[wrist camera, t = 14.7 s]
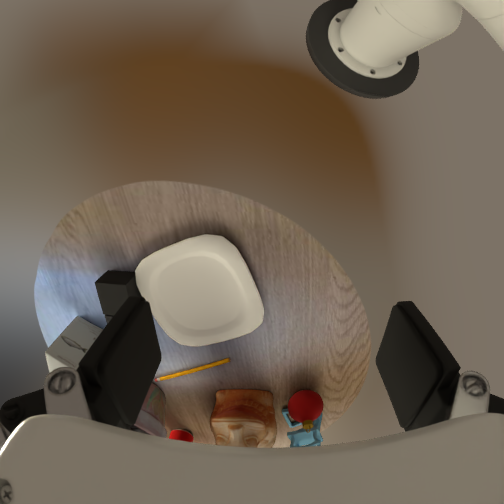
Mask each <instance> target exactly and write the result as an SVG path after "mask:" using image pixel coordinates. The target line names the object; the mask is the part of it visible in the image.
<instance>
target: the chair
mask: <svg viewBox="0 0 504 504" xmlns="http://www.w3.org/2000/svg"><path fill="white" fill-rule="evenodd" d="M286 413H289V412H288V409H282V414H283V416H284V418H285V419H286V421H287V423H288V425H289V426H290V427H291V428H292V427H296V426H299V425H301V424H302V423H300V422H295V423H291V421H290V419H289V417H288V415H287V414H286ZM321 420H322V413H321V415H320V416H319V417H318V418H317V419H316V420H314V421H313V427H312V428H311V430H310V432H309V433H307V432H306V429H303V428H302V429H299V430H297V431H292V432H287V436H288V438H289V439H290V440H291V445H290V447H310V446H316V445H317V446H321V445H320V443H321V442H322V441H323V438H322V436H321V434H320V425H321ZM307 431H309V429H308V430H307ZM307 444H308V445H307ZM302 445H306V446H302Z"/></svg>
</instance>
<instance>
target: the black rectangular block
mask: <svg viewBox="0 0 504 504" xmlns="http://www.w3.org/2000/svg"><path fill="white" fill-rule="evenodd" d="M95 285H96V289H97V293H98V297H99V300H100V304H101V307H102V311H103V314H105V315H112V316H114V315H115V314H116V312H117V311H118V310H119V308H120V307H121V306H122V305H123V303H124V302H125V301H126V300H127V298H128V297H129V296H137V297H142V295H141V293H140V291H139V289H138V287H137V284H136V275H135V272H126V271H110V270H108V271H107V272H105V273H104V274H103V275H102V276H101V277H100V278H99V279H98V280H97V281H96V282H95Z"/></svg>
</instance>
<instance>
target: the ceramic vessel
mask: <svg viewBox="0 0 504 504" xmlns="http://www.w3.org/2000/svg"><path fill="white" fill-rule="evenodd" d="M210 427H211V431H212V432H213V434H214V437H215V440H216V445H221V446H234V447H254V448H272V446H273V445H274V443H275V440H276V434H277V425H276V420H275V411H274V408H273V394H272V393H271V392H269V391H262V390H253V389H226V390H219V391H217V393H216V404H215V407H214V410H213V412H212V415H211V418H210Z"/></svg>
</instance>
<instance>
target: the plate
mask: <svg viewBox="0 0 504 504" xmlns="http://www.w3.org/2000/svg"><path fill="white" fill-rule="evenodd" d="M135 275H136V284H137V287H138V289H139V291H140V293H141V295H142V297H144V298H145V300H146V301H148V302H149V303H150V307H151V312H152V314H153V316H154V317H155V319H156V321H157V322H158V324H159V325H160V326H161V328H162V329H163V330H164V331H165V332H166V334H167V335H168V336H169V337H170V338H172V339H173V340H174V341H176V342H177V343H179V344H181V345H186V346H192V347H195V346H203V345H210V344H214V343H218V342H222V341H226V340H230V339H234V338H237V337H240V336H243V335H245V334H248V333H250V332H253V331H254V330H255V329H256V328H257V327H258V326H259V325H260V324H261V323H262V322H263V316H264V307H263V303H262V300H261V296H260V294H259V291H258V289H257V287H256V284H255V282H254V280H253V277H252V275H251V273H250V271H249V269H248V266H247V264H246V262H245V261H244V259H243V257H242V256H241V254H240V252H239V251H238V249H237V247H236V246H235V245H233V244H232V243H231V242H230V241H228V240H227V239H226V238H225V237H223V236H220V235H211V234H203V235H199V236H195V237H191V238H187V239H185V240H182V241H180V242H177V243H174V244H172V245H170V246H167V247H165V248H163V249H160V250H158V251H156V252H154V253H152V254H151V255H149V256H147V257H146V258H144V259H143V260H142V261H141V262H140V264H139V265H138V267H137V268H136V270H135Z"/></svg>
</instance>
